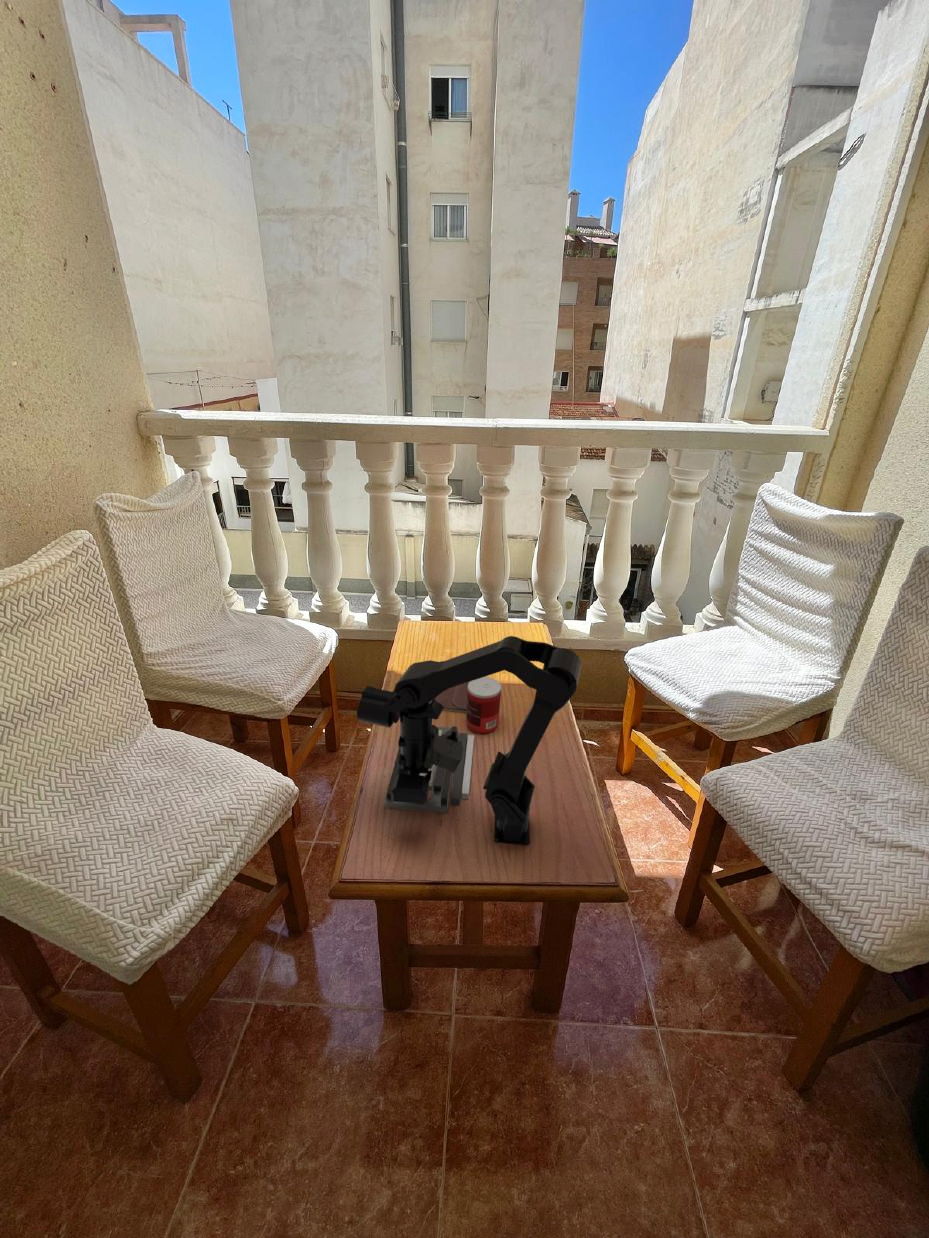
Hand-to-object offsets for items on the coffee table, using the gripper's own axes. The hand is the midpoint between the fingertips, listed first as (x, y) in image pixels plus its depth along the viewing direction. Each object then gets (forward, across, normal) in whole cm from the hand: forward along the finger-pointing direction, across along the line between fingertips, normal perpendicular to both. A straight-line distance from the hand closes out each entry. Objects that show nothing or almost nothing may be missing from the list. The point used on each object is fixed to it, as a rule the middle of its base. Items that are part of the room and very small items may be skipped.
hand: (416, 794), depth 106 cm
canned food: (+3, +27, -12) cm, 29 cm away
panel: (+3, +11, 0) cm, 11 cm away
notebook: (+4, +41, -3) cm, 41 cm away
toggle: (+1, +6, 0) cm, 6 cm away
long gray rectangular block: (+3, +11, -8) cm, 14 cm away
